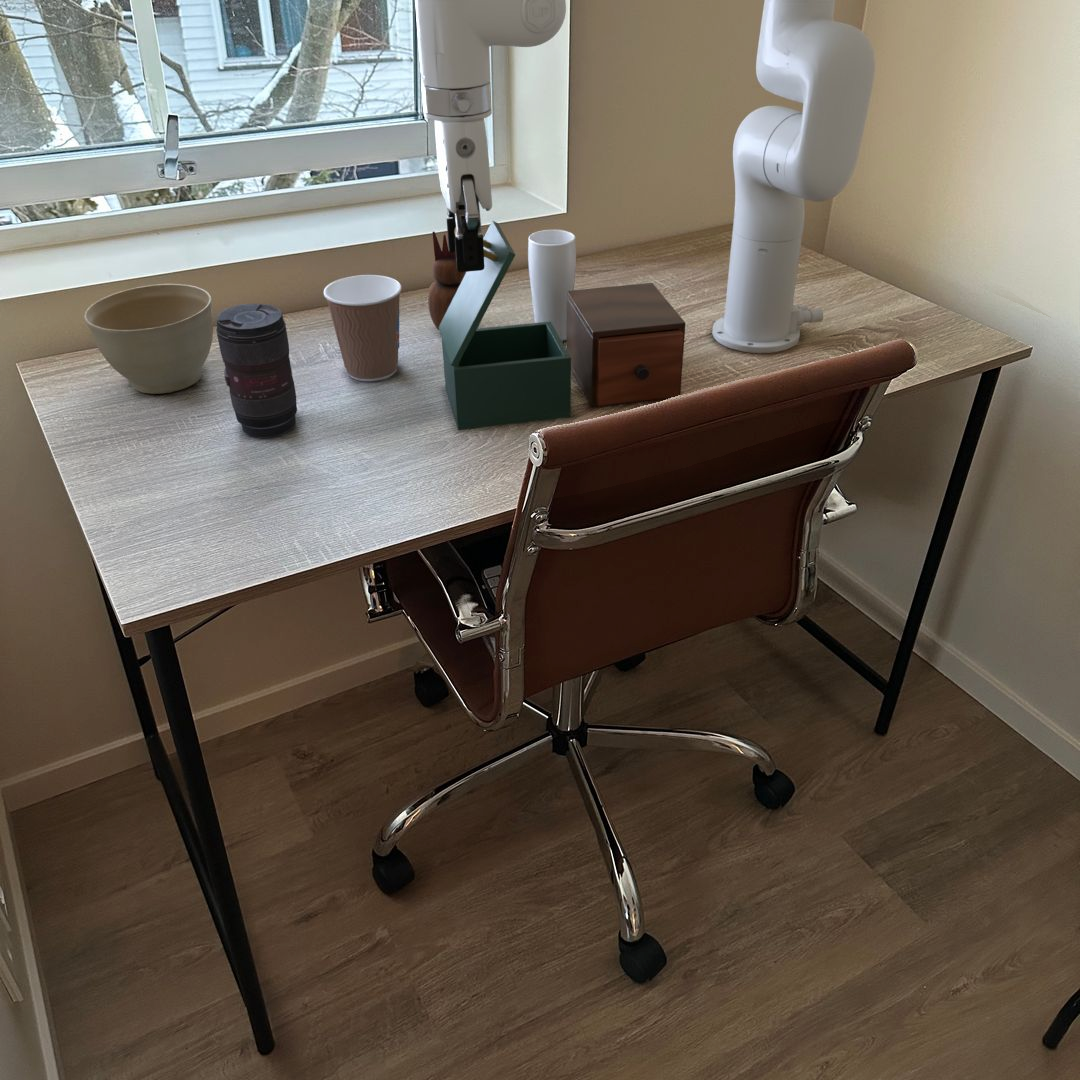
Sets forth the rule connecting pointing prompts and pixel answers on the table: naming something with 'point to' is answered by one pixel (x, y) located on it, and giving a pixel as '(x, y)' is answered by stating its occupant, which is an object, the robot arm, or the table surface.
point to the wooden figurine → (443, 281)
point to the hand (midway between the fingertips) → (466, 259)
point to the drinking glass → (551, 276)
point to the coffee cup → (366, 324)
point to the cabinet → (613, 325)
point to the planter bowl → (154, 334)
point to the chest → (510, 377)
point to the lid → (475, 294)
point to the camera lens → (258, 368)
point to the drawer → (638, 366)
